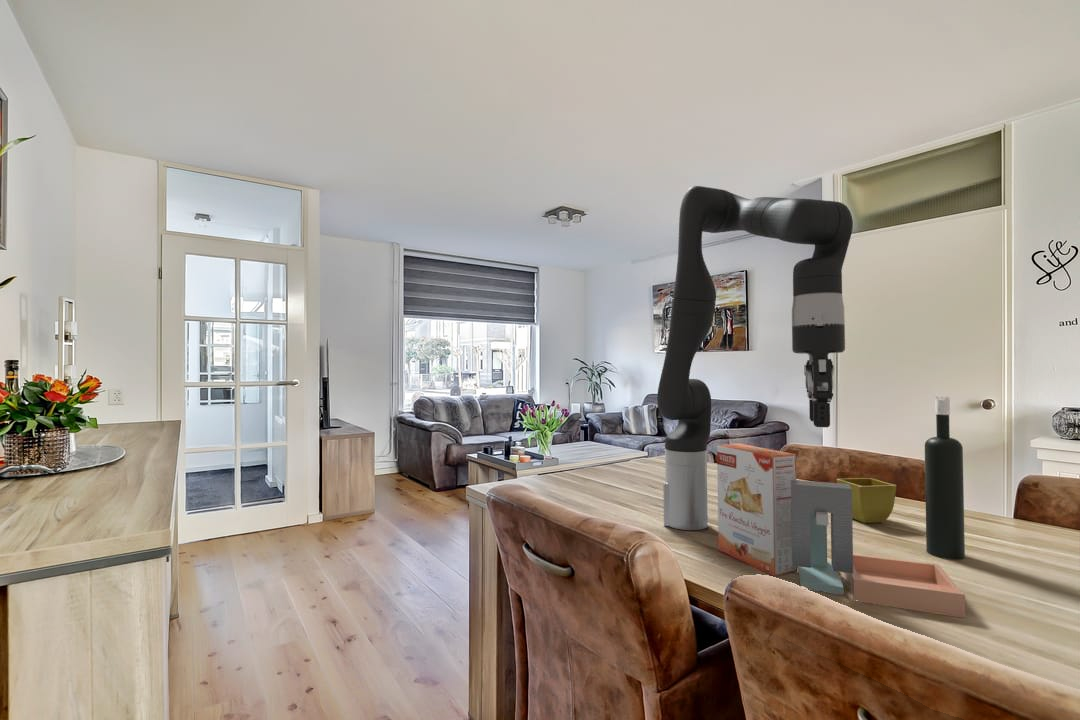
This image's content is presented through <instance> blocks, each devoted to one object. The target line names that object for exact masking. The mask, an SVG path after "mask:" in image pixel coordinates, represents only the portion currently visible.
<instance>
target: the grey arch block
mask: <svg viewBox="0 0 1080 720" xmlns="http://www.w3.org/2000/svg"><path fill="white" fill-rule="evenodd" d="M810 511H816V512H827V513H830V544H831V545H830V554H831V555H830V559H831V562H830V563H832V567H833V570H834V571H837V572H839V573H844V572H845V573H852V574H853V554H854V547H853V545H854V543H853V542H854V541H853V540H854V539H853V537H854V535H853V532H854V531H853V530H854V529H853V528H854V527H853V518H852V488H851V487H850V485H849V484H841V483H837V482H824V481H814V480H813V481H811V480H797V479H796V480H791V541H792V565H793V566H800V567H807V568H811V546H810Z"/></svg>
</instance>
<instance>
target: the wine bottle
mask: <svg viewBox="0 0 1080 720" xmlns="http://www.w3.org/2000/svg"><path fill="white" fill-rule="evenodd" d="M934 400H935V405H934V406H935V408H934V409H935V416H936V418H935V419H936V420H935V421H936V422H935V424H936V436H933V437H929V438H928V439H927V440H926V441H925V443H924V481H925V482H924V483H925V484H924V485H925V487H924V489H925V491H924V492H925V534H926V535H925V537H926V540H925V541H926V545H925V546H926V547H925V548H926V552H927V553H928V554H929V555H932V556H934V557H937V558H941V559H947V560H958V561H960V560H964V559H965V557H966V552H965V548H966V547H965V499H964V498H965V496H964V493H965V492H964V489H965V488H964V456H963V455H964V452H963V451H964V450H963V445H962V443H961V441H959V440H957V439H955V438H954V437H950V435H951V434H950V414H951V407H950V397H949V396H935V399H934Z"/></svg>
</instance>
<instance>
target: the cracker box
mask: <svg viewBox="0 0 1080 720" xmlns="http://www.w3.org/2000/svg"><path fill="white" fill-rule="evenodd" d="M796 455H797V454H796V453H790V452H788V451H787V452H785V451H782V450H775V449H771V448H764V447H761V446H760V447H759V446H756V445H749V444H744V443H737V442H736V443H723V444H719V445H717V446H716V456H717V457H716V460H717V461H716V462H717V463H716V464H717V465H716V466H717V468H716V469H717V472H716V473H717V520H718V521H717V529H718V530H717V532H718V533H717V534H718V535H717V536H718V551H720V552H722V553H724V554H726V555H729V556H730V557H732V558H734V559H737V560H739V561H741V562H743V563H745V564H747V565H750V566H751V567H754V568H755V569H758V570H760V571H762V572H763V573H766V574H768V575H770V576H772V575H773V576H772V577H777V576H783V575H786V574H787V575H788V574H791V573H796V572H798V566H793V565H792V541H791V480H797V456H796Z"/></svg>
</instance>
